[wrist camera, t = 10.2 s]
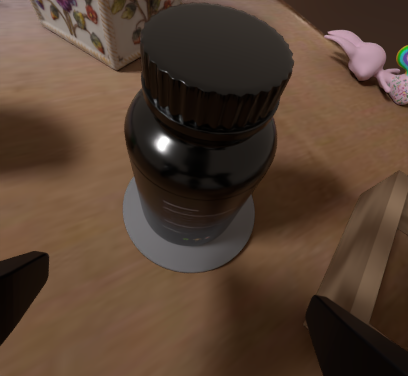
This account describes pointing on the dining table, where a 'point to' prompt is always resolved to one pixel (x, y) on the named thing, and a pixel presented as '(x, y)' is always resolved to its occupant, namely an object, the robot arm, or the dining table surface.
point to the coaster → (186, 255)
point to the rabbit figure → (374, 64)
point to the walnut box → (367, 247)
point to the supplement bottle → (204, 117)
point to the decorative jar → (101, 25)
